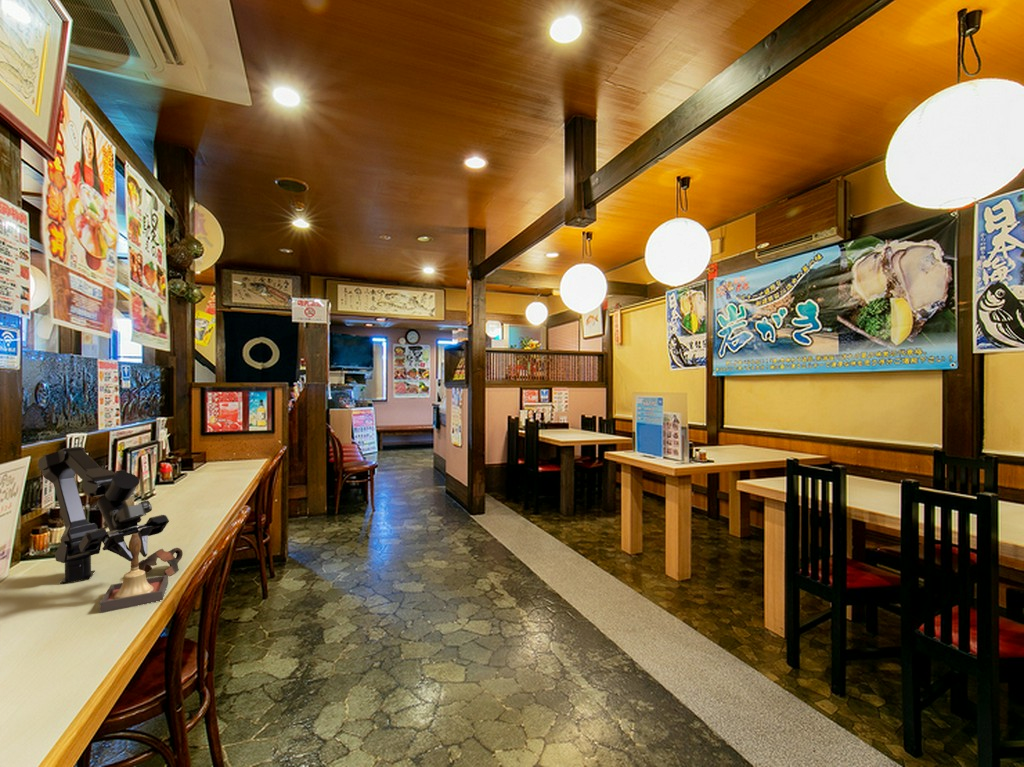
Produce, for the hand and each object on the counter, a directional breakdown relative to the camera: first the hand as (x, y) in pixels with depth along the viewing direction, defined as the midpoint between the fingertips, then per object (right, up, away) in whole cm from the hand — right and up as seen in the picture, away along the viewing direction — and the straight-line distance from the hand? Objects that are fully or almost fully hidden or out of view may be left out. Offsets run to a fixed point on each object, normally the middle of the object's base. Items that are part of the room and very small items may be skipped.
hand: (138, 558), depth 125 cm
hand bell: (-1, -10, 0) cm, 10 cm away
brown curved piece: (-6, -11, +17) cm, 21 cm away
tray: (-1, -11, 0) cm, 11 cm away
